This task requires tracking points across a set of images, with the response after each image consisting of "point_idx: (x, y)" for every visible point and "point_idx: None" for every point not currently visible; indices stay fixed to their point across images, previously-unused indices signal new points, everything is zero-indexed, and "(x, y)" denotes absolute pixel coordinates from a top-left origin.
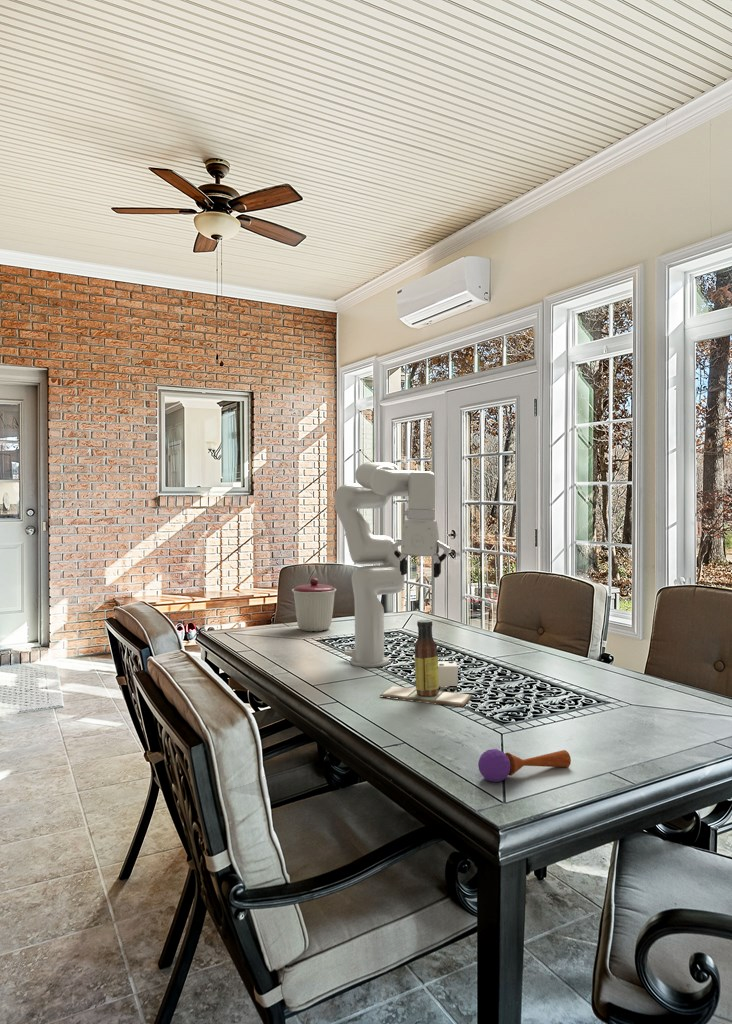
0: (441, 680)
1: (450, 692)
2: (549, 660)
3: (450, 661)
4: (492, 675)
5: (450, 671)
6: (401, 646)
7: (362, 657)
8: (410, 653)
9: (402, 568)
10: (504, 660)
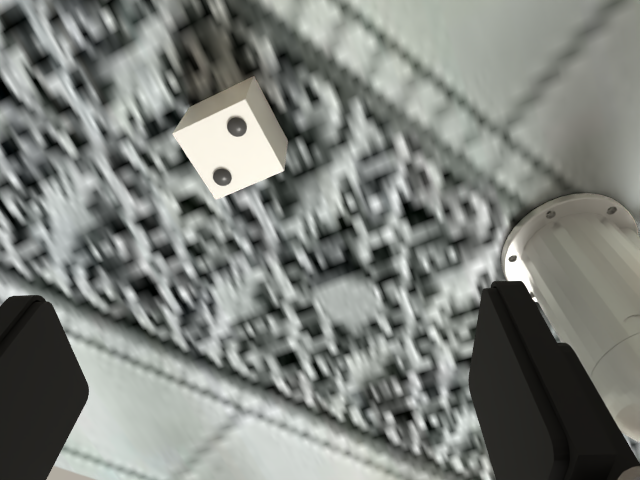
0: (235, 90)
1: None
2: (109, 432)
3: (227, 183)
4: (161, 268)
5: (200, 114)
6: None
7: (595, 222)
8: (467, 375)
9: (531, 343)
10: (205, 399)
